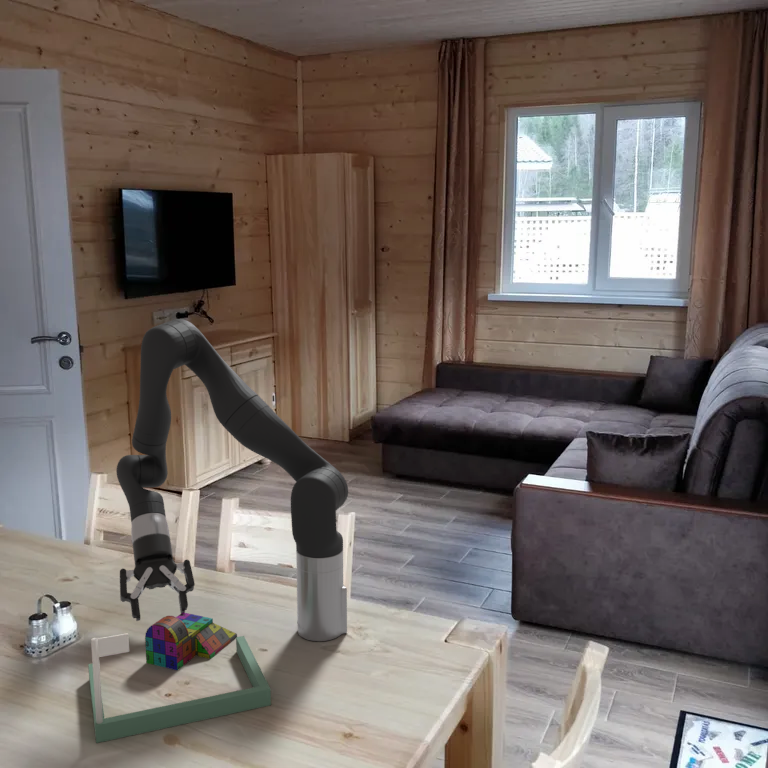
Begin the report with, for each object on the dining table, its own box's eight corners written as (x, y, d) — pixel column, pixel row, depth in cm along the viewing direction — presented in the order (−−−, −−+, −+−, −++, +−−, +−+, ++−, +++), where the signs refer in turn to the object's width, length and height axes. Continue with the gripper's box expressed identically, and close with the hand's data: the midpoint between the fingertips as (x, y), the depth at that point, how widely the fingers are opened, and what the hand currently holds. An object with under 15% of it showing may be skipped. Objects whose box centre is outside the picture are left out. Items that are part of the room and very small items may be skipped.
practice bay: (244, 650, 157) (241, 566, 154) (270, 705, 139) (268, 611, 136) (89, 679, 146) (83, 590, 143) (96, 743, 128) (89, 642, 125)
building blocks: (192, 674, 148) (190, 631, 147) (146, 663, 152) (144, 621, 151) (237, 637, 162) (235, 597, 161) (193, 628, 166) (192, 589, 164)
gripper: (115, 537, 163) (123, 615, 155) (187, 527, 169) (199, 602, 160) (114, 552, 169) (122, 628, 161) (184, 543, 174) (196, 616, 166)
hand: (161, 615), depth 160 cm, fingers open, 8 cm apart
